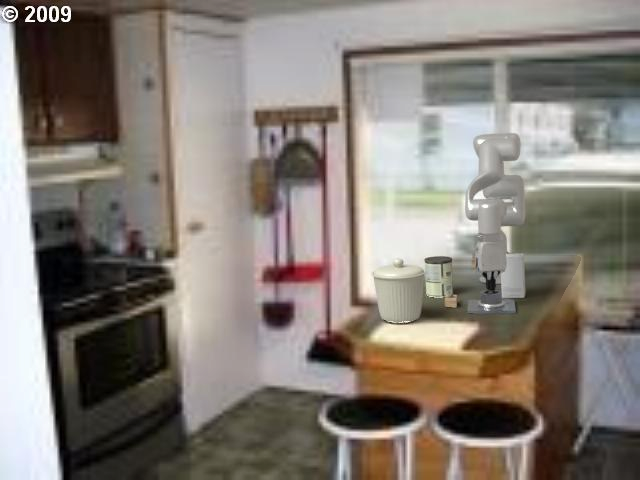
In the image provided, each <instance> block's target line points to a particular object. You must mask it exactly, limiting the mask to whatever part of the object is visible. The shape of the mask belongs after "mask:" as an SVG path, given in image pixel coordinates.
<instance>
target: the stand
mask: <svg viewBox="0 0 640 480" xmlns="http://www.w3.org/2000/svg"><path fill="white" fill-rule="evenodd" d="M448 294H449V295H446V296H445V298H444V307H445V306H446V307H452V308H457V307H458V295H457V294H454V292H453V293H448Z"/></svg>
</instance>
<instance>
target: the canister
mask: <svg viewBox="0 0 640 480" xmlns="http://www.w3.org/2000/svg"><path fill="white" fill-rule="evenodd" d="M425 274H426V271H425V268H422V267H421V266H418V265H414V264H404V259H402V258H398V257H397V258H394V259H393V260H392V264H389V265H383V266H380V267H378V268H376V269H375V270H373V271H372V272H371V276H372V277H373V281H374V289H375V294H376V295H375V296H376V301H377V307H378V311H379V315H380V318H381V319H382V320H383V319H384V320H386V321H393V322H402V321H403V322H404V321H412V320H416V319H417V320H418V319H419V318H420V316H421V314H422V306H423V295H424V294H423V293H424V283H425V282H424V281H425V279H424V278H425ZM384 320H383V321H384ZM417 320H416V321H417ZM386 321H385V322H386Z"/></svg>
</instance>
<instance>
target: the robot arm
mask: <svg viewBox="0 0 640 480" xmlns="http://www.w3.org/2000/svg"><path fill="white" fill-rule="evenodd" d="M472 145H473V149H474V151H475V154H476V156H477V157H478V175H477V176H475V178H474V179H473V180H472V181H471V182H470V183H469V185H468V186H467V189H466V192H465V199H464V200H465V201H464V202H465V205H464V212H465V217H466V219H468V220H469V221H473V222H475V221H477V222H478V224H477V225H478V226H477V227H478V233H477V234H476V235H475V236H474V238H475V239H474V240H476V241H477V240H478V242H476V247H475V253H474V254H475V268H476V269H475V274H476V275H477V276H481V277H479V280H478V281H479V282H480V283H483V284H485V288H486V290H489V291H492V290H493V291H495V290H496V287H497V284H498V285H501V273H503V272H505V269H506V267H507V261H506V254H507V252H508V240H507V239H508V238H507V235H506V233H505V232H504V231H503V230H502V227H519V226H522V225H523V224H524V223H525V219H526V206H525V205H526V203H525V202H526V199H525V182H524V180H523V177H522V176H521V175H519V174H505V164H504V162H516V161H517V160H519V158H520V156H521V138H520V136H519V134H518V133H514V132H511V133H510V132H508V133H505V132H504V133H486V134H479V135H477V136H475V137H474V138H473V141H472ZM481 191H482V195H483V197H484V198H477V199H476V198H474V197H475V196H476V195H477V194H478V193H479V192H481ZM505 200H511V201H506V202H505Z"/></svg>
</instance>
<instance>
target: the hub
mask: <svg viewBox="0 0 640 480" xmlns="http://www.w3.org/2000/svg"><path fill="white" fill-rule="evenodd" d="M468 313H475V314H474V315H476V314H477V313H478V314H479V315H480V314H485V315H487V314H488V315H489V314H491V315H492V314H495V315H496V314H505V315H506V314H509V315H510V314H511V315H512V314H517V309H516V303H515V298H510V299H502V303H501V304H496V305H486V304H482V303H481V299H468V300H467V314H468ZM478 314H477V315H478Z"/></svg>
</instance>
